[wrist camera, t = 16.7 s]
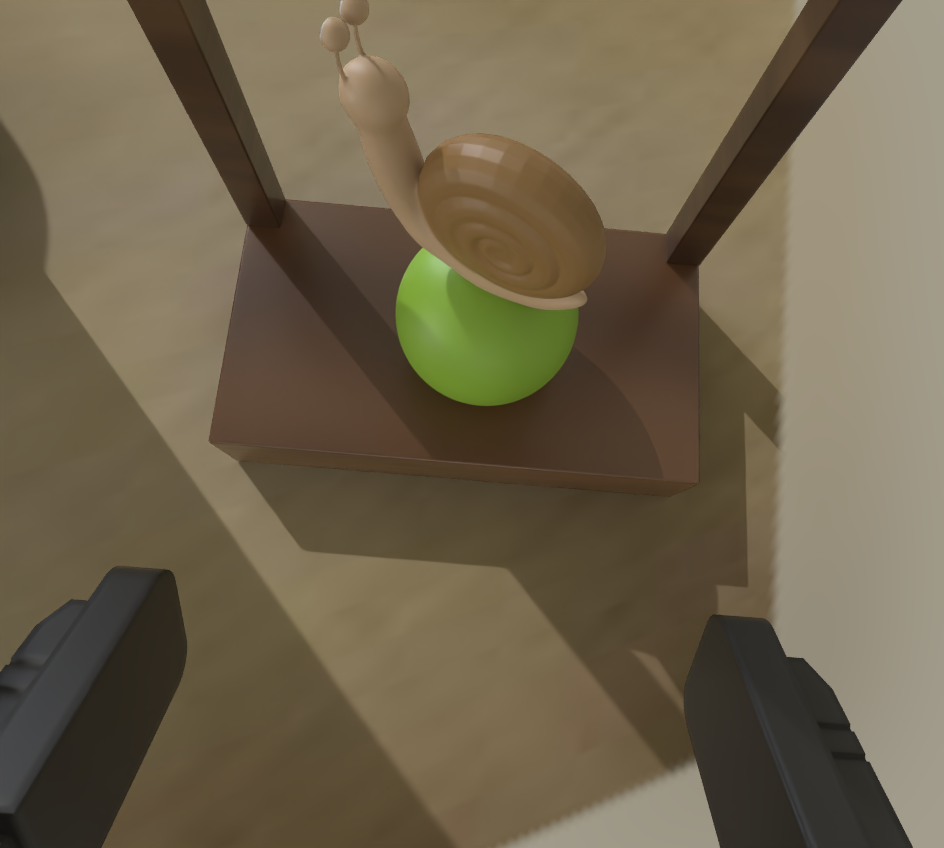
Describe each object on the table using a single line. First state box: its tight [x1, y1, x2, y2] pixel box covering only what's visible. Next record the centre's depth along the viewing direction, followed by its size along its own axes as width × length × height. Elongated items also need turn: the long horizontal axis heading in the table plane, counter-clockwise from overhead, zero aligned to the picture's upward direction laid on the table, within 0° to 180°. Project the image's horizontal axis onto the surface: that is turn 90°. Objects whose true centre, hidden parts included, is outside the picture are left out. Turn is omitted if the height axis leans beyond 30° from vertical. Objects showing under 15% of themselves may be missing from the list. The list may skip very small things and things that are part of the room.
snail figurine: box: [320, 0, 606, 406], centre depth 17 cm, size 5×6×12 cm
